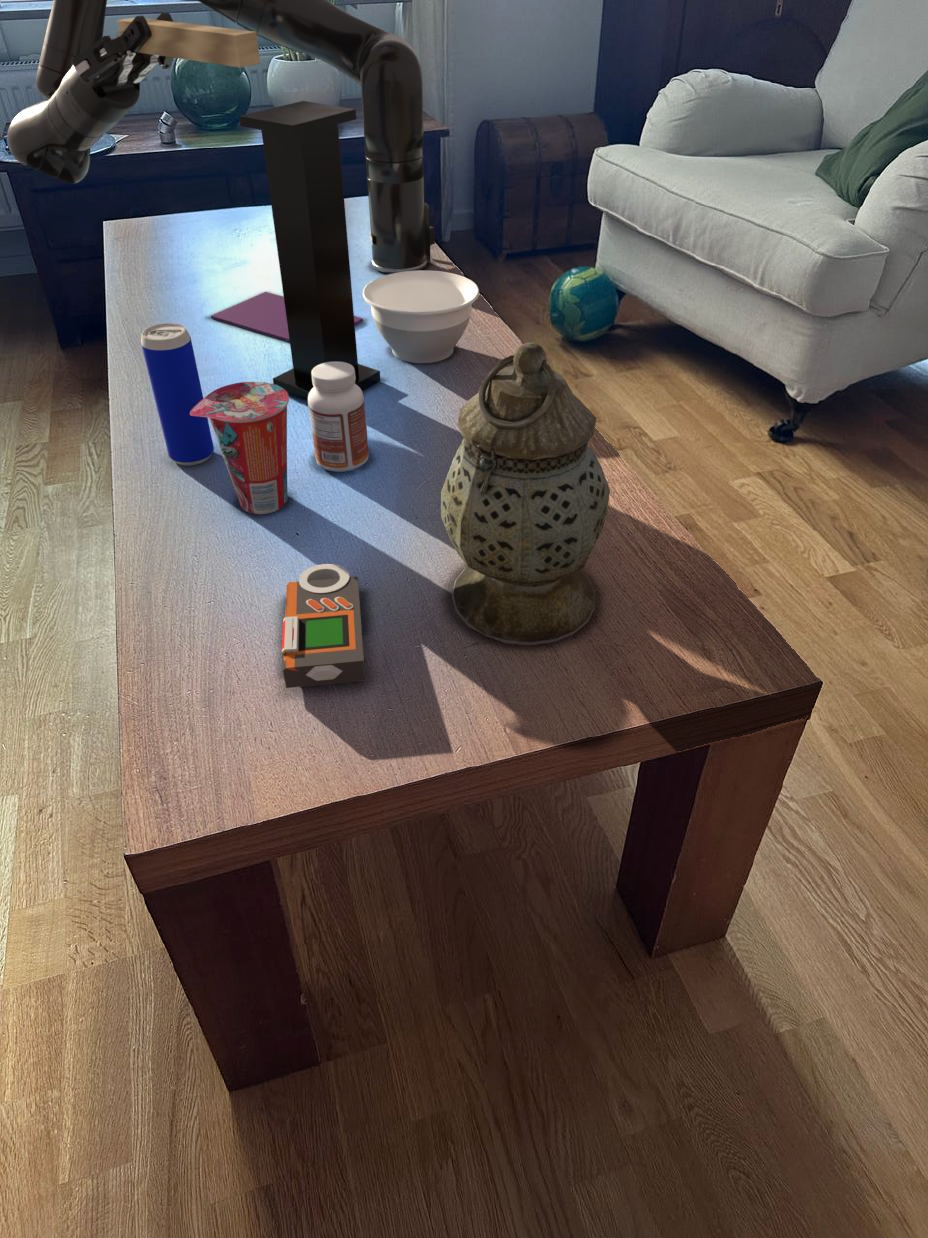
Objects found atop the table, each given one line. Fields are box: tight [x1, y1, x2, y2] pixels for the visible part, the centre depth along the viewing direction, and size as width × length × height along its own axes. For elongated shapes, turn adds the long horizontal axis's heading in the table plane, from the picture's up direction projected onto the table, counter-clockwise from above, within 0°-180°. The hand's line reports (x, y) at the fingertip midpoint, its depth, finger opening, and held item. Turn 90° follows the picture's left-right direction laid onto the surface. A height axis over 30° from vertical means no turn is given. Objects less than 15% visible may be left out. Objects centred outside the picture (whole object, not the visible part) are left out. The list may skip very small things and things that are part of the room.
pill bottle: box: [307, 362, 370, 473], centre depth 99 cm, size 6×6×11 cm
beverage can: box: [140, 322, 215, 466], centre depth 98 cm, size 5×5×15 cm
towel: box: [210, 291, 364, 343], centre depth 134 cm, size 12×20×1 cm, turn 56°
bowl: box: [362, 269, 480, 364], centre depth 123 cm, size 16×16×9 cm
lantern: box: [440, 341, 611, 646], centre depth 75 cm, size 14×14×25 cm
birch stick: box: [116, 17, 261, 69], centre depth 100 cm, size 20×3×3 cm, turn 54°
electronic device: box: [281, 563, 367, 689], centre depth 78 cm, size 7×3×15 cm
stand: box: [238, 100, 381, 402], centre depth 107 cm, size 10×10×32 cm
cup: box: [190, 381, 290, 515], centre depth 92 cm, size 9×8×12 cm
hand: (158, 22), depth 101 cm, fingers closed on birch stick, 3 cm apart
